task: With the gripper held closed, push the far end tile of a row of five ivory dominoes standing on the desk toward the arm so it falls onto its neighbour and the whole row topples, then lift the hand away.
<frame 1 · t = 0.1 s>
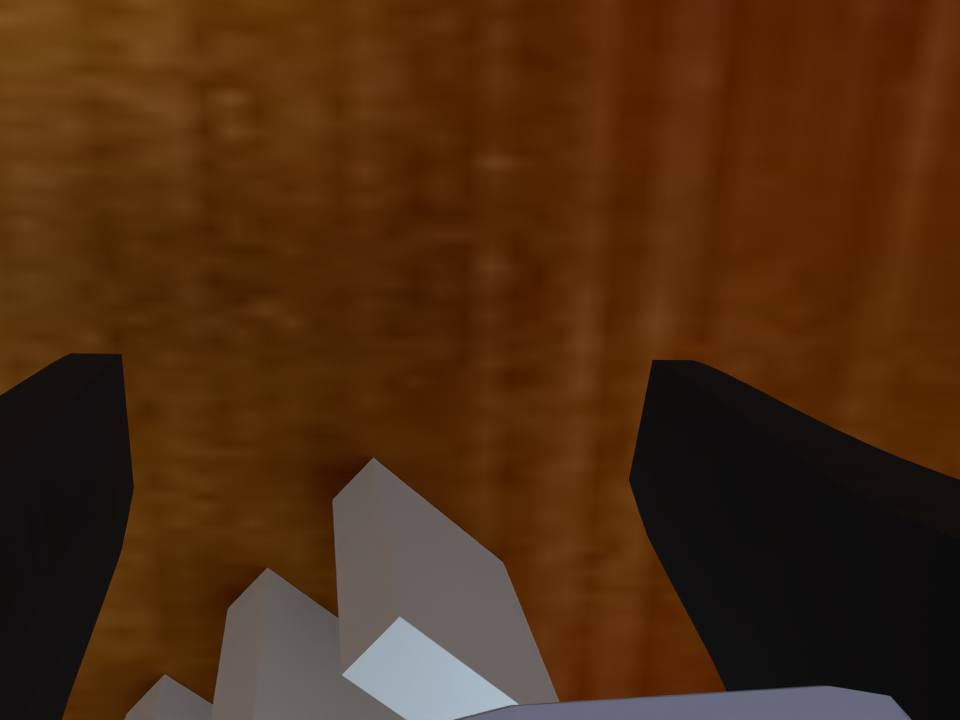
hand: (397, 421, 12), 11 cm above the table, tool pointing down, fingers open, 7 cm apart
domino 1: (420, 532, 25), on the table
domino 2: (317, 637, 25), on the table
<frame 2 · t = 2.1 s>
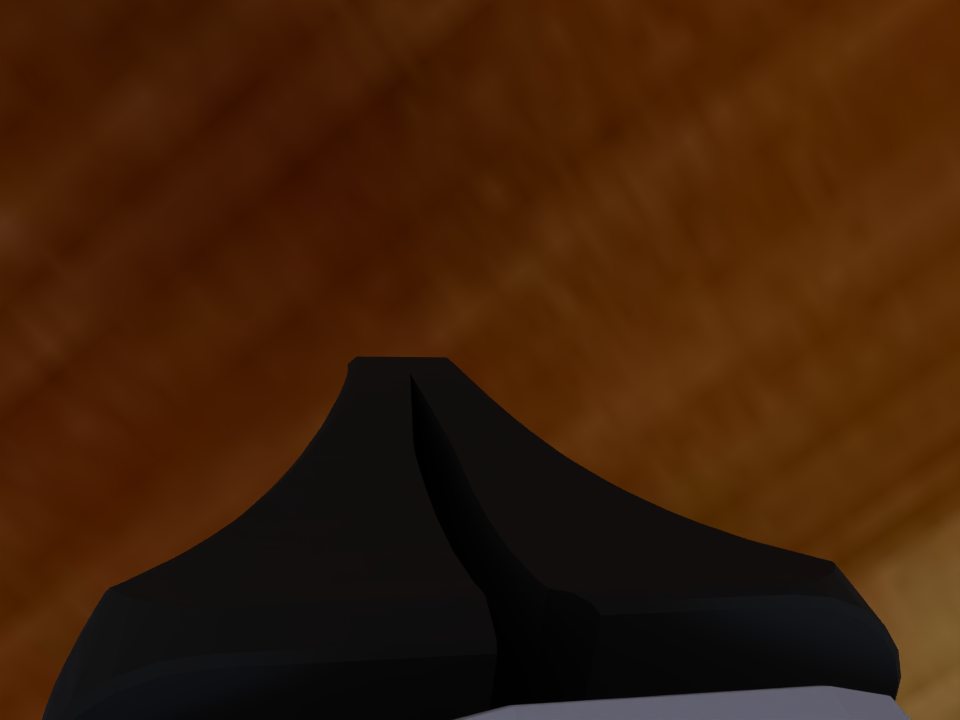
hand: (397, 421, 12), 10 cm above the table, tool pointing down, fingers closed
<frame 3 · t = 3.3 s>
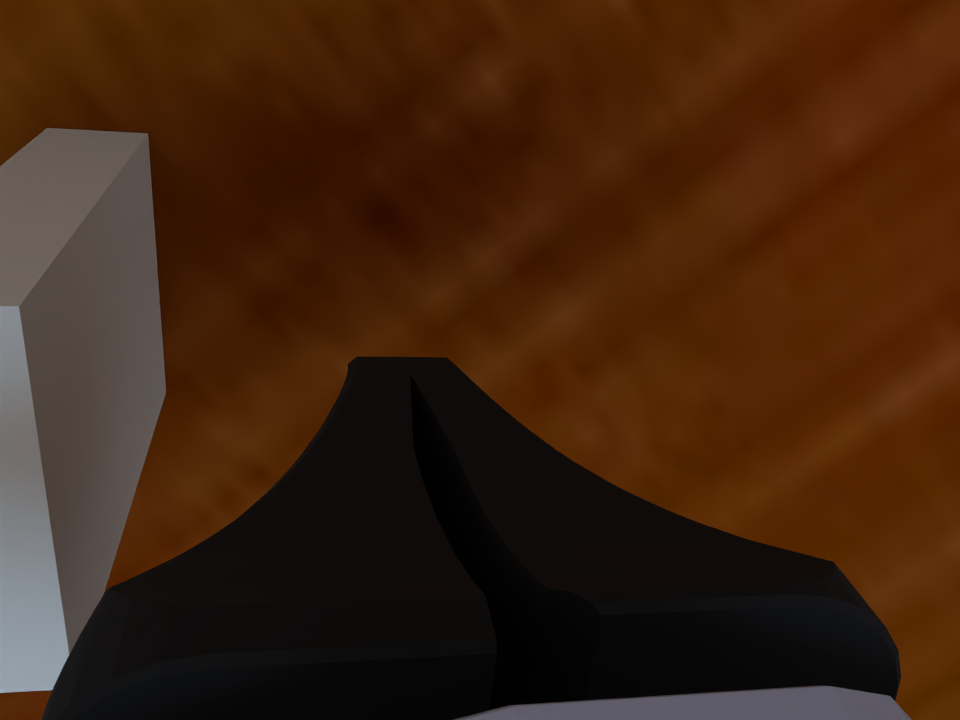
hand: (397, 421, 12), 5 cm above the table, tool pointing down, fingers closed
domino 1: (111, 270, 16), on the table
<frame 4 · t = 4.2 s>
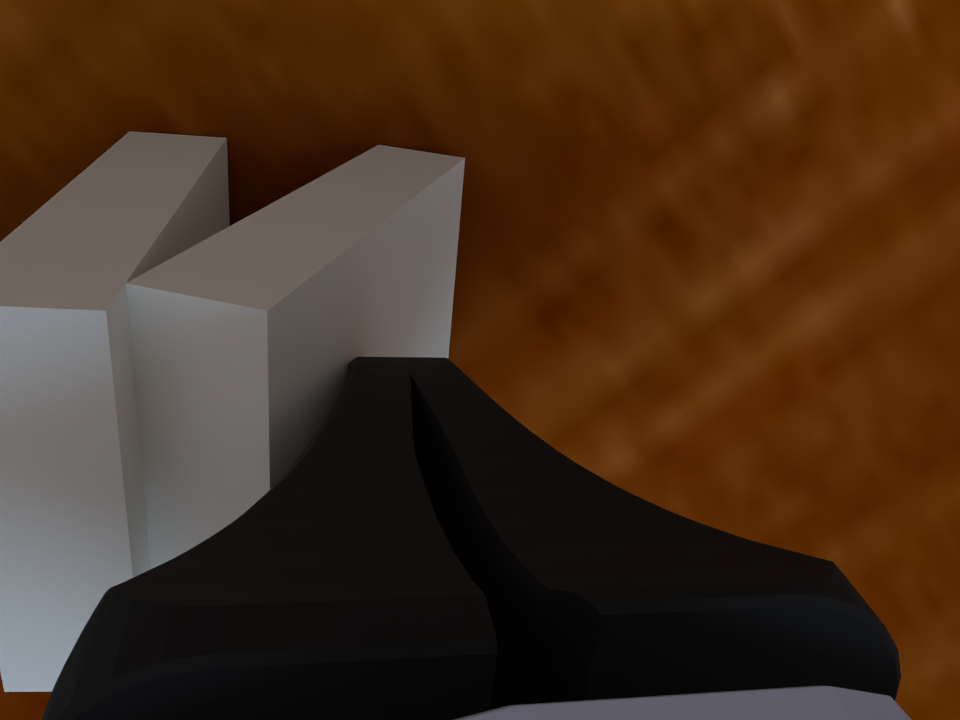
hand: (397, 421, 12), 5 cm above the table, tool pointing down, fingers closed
domino 1: (413, 283, 17), on the table, tilted 24°, touching domino 2, gripper
domino 2: (186, 272, 16), on the table, touching domino 1
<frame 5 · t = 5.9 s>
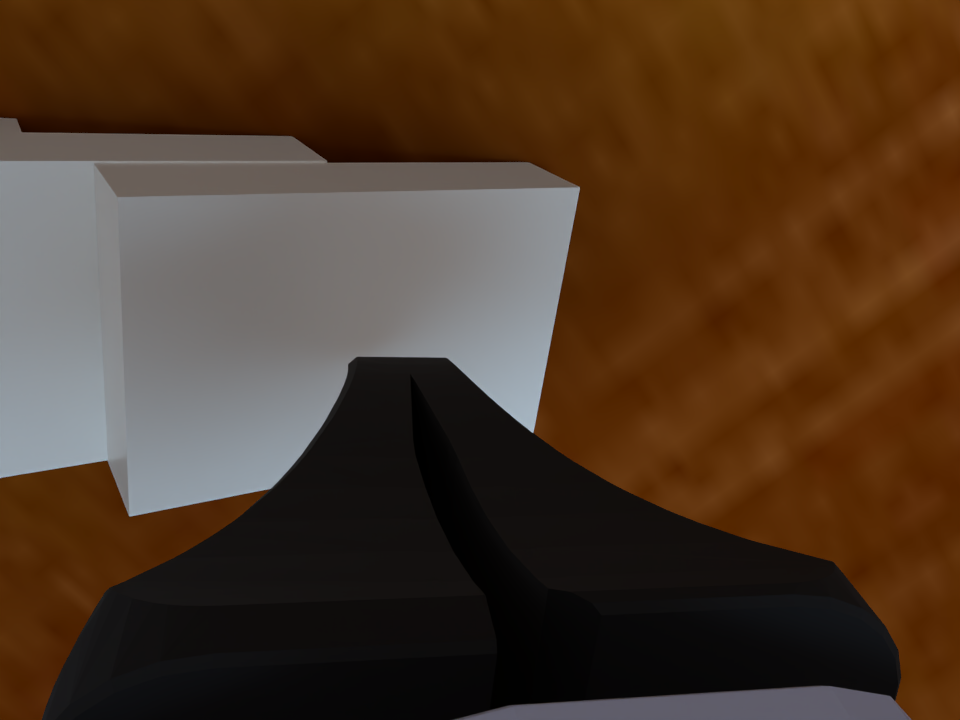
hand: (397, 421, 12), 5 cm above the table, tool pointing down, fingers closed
domino 1: (530, 303, 17), point 1 cm above the table, tilted 68°, touching domino 2
domino 2: (301, 285, 16), point 1 cm above the table, tilted 68°, touching domino 1, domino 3
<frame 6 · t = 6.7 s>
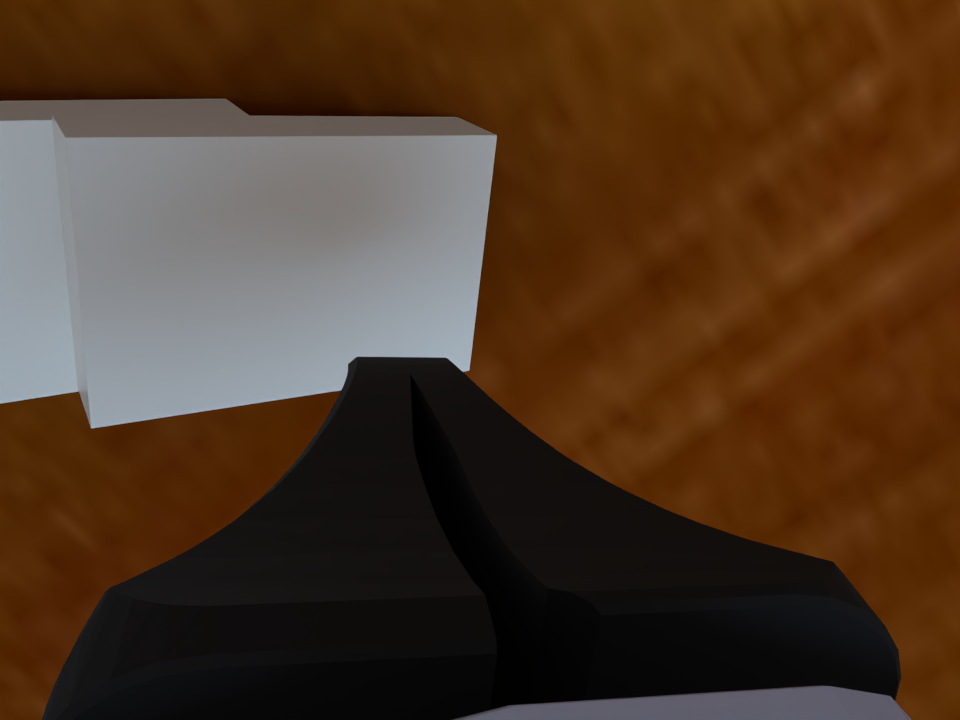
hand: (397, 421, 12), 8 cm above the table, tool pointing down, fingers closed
domino 1: (463, 246, 19), point 1 cm above the table, tilted 70°, touching domino 2
domino 2: (241, 234, 18), point 1 cm above the table, tilted 70°, touching domino 1, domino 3
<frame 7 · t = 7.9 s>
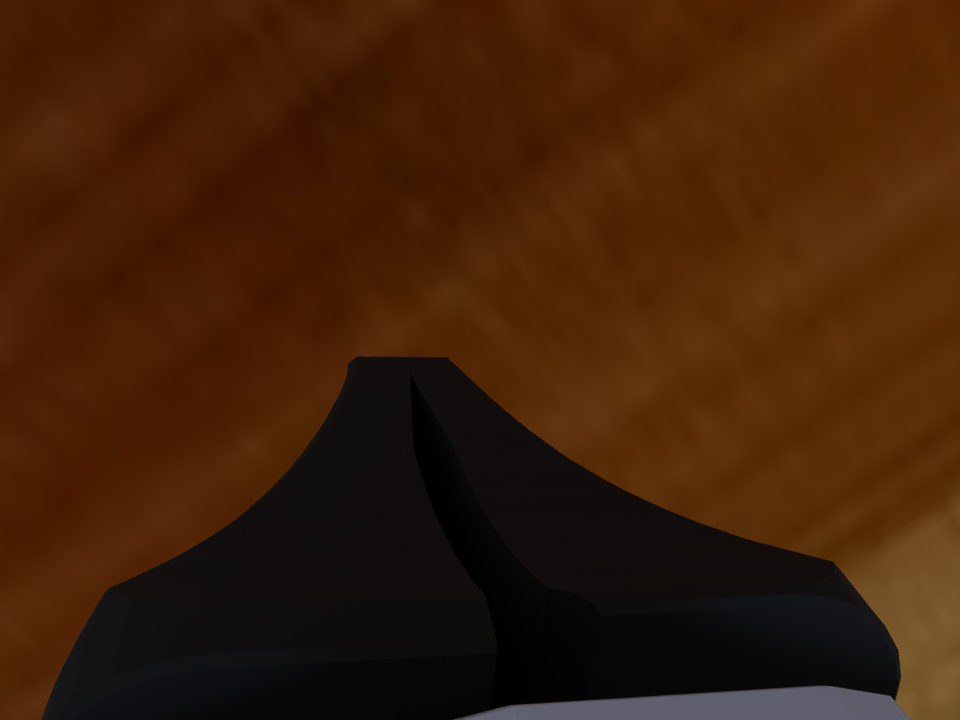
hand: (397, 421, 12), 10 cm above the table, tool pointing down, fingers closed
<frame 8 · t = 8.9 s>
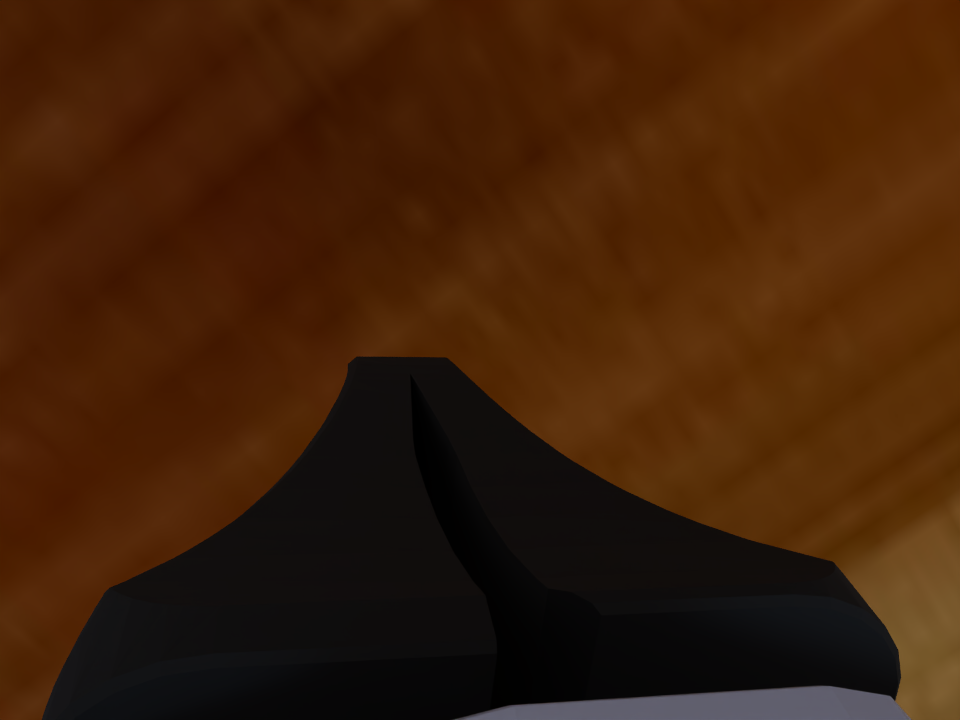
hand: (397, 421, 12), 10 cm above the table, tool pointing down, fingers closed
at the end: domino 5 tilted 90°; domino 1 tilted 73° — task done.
